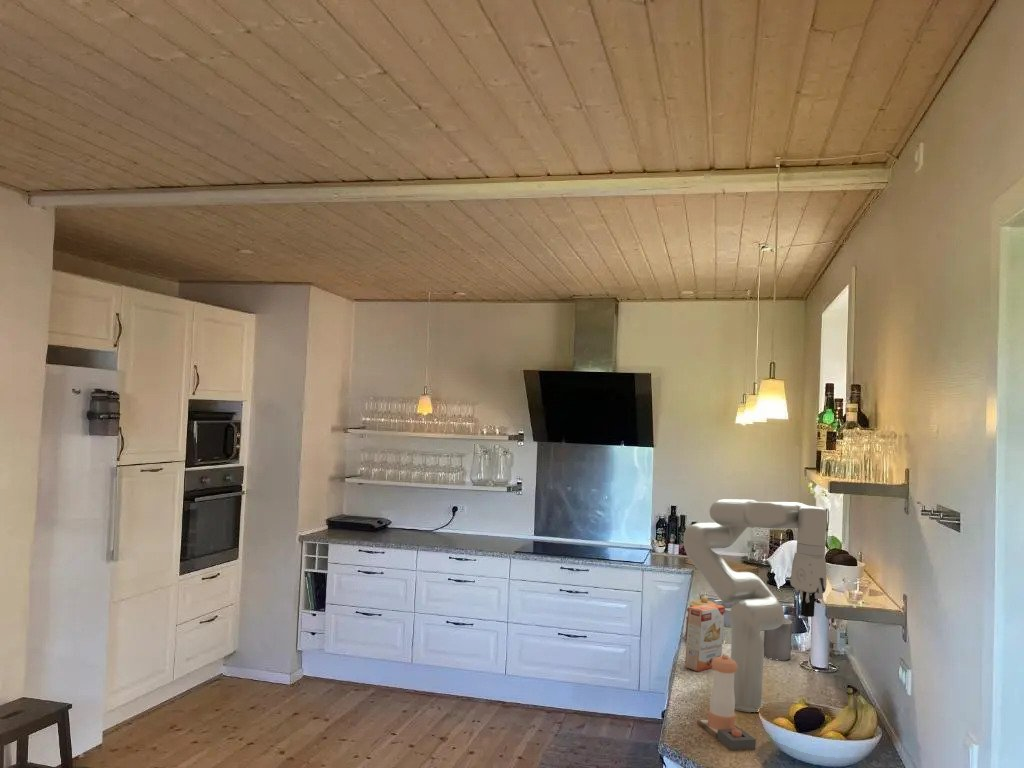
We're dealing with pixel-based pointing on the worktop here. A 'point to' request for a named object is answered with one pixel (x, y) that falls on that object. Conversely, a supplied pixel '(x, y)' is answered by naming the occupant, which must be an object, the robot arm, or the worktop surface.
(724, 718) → the salt shaker
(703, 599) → the canister
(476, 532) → the worktop surface
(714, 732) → the drawing board
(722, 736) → the button housing
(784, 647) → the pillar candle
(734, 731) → the button
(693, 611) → the cracker box
